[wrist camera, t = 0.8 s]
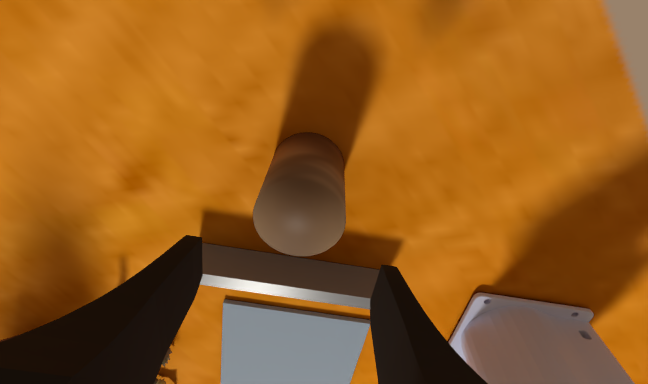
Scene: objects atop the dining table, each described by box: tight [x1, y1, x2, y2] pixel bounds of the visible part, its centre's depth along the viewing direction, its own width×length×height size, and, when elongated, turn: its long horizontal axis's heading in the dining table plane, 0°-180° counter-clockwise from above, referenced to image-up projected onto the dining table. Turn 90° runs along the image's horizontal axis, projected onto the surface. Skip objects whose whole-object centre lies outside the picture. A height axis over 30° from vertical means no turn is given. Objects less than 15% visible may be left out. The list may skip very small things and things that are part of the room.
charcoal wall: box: [200, 243, 380, 309], centre depth 25 cm, size 14×1×3 cm, turn 81°
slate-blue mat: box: [221, 299, 370, 384], centre depth 32 cm, size 12×12×1 cm
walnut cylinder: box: [253, 133, 346, 256], centre depth 20 cm, size 4×4×6 cm
